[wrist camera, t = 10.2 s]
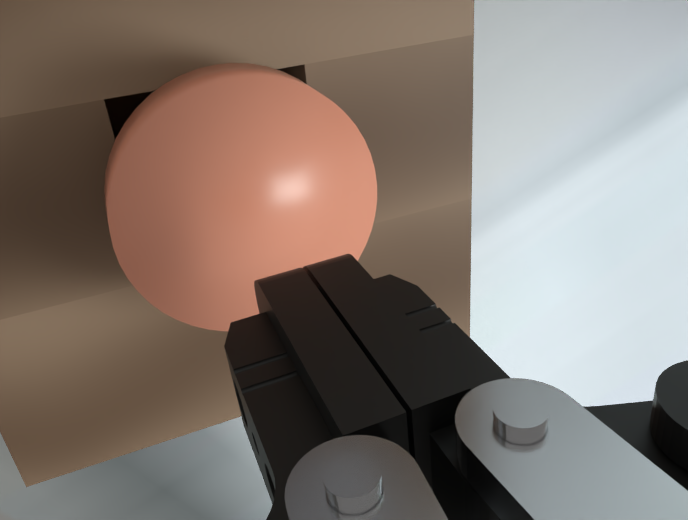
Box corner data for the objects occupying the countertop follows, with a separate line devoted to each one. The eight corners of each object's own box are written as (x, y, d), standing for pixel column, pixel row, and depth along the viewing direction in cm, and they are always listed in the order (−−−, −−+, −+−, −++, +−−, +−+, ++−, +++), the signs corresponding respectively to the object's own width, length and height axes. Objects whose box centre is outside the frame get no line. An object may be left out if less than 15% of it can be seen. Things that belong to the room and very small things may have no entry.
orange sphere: (66, 50, 14) (70, 104, 10) (282, 18, 16) (368, 53, 11) (124, 249, 17) (147, 362, 12) (306, 205, 18) (384, 292, 14)
